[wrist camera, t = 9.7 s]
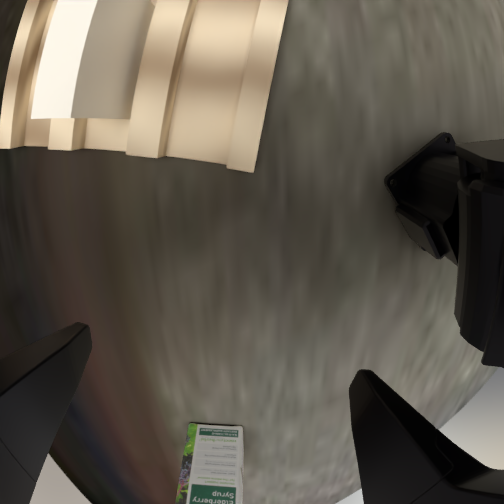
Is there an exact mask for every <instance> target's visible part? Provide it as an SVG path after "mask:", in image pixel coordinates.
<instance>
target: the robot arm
mask: <svg viewBox="0 0 504 504" xmlns="http://www.w3.org/2000/svg"><path fill="white" fill-rule="evenodd" d="M445 137H447V142H445ZM392 179H394V184H393V185H392V186H391V185H390V181H391V180H392ZM385 186H386V187H387V189H388V191H389V192H390V194H391V196H392V197H393V199H394V201H395V203H396V204H397V206H396V210H395V211H396V213H397V215H398V217H399V218H400V220H401V222H402V224H403V226H404V227H405V229H406V231H407V233H408V235H409V236H410V238H411V239H413V240H414V241H415V242H416V243H418V245H419V247H420V248H421V249H422V250H424V251H428V252H429V253H430V254H431V255H432V256H434V257H435V258H436V259H442V258H443V257H444V256H446V257H447V258H448V259H449V260H451V261H452V262H453V263H454V264H456V265H457V266H458V274H457V287H456V298H455V310H454V315H455V317H456V320H457V322H458V325H459V327H460V334H461V336H462V337H463V338H464V339H465V340H466V341H467V342H468V343H469V344H471V345H473V346H474V347H476V348H477V349H479V350H480V351H482V352H484V354H483V357H482V360H481V363H482V364H483V365H488V366H497V367H502V368H504V139H500V140H489V141H480V142H471V143H462V144H456V143H455V141H454V139H453V137H452V136H451V134H449V133H445V132H443V133H441V134H440V135H439V136H437V137H436V138H435V139H434V140H432V141H431V142H430V143H429V144H427V145H426V146H425V147H423V148H422V149H421V150H420V151H418V152H417V153H416V154H415V155H413V156H412V157H411V158H410V159H408V160H407V161H406V162H404V163H403V164H402V165H401V166H399V167H398V168H397V169H395V170H394V171H393V172H392V173H390V174H389V175H388V176H387V177H386V178H385ZM91 350H92V340H91V333H90V328H89V326H88V325H87V324H83V323H80V322H77V323H74V324H72V325H70V326H68V327H66V328H64V329H62V330H60V331H58V332H56V333H53V334H51V335H49V336H47V337H45V338H43V339H41V340H39V341H37V342H35V343H33V344H31V345H28V346H26V347H24V348H22V349H20V350H18V351H16V352H14V353H12V354H10V355H8V356H6V357H4V358H2V359H0V504H29V503H30V500H31V497H32V494H33V491H34V489H35V486H36V482H37V480H38V477H39V475H40V472H41V469H42V467H43V464H44V462H45V459H46V457H47V454H48V452H49V449H50V447H51V445H52V442H53V440H54V438H55V435H56V433H57V431H58V428H59V426H60V424H61V422H62V420H63V417H64V415H65V413H66V411H67V409H68V406H69V404H70V402H71V400H72V398H73V396H74V394H75V392H76V390H77V387H78V385H79V382H80V380H81V377H82V374H83V371H84V369H85V366H86V363H87V361H88V358H89V355H90V353H91ZM349 399H350V412H351V425H352V433H353V439H354V444H355V450H356V456H357V462H358V468H359V474H360V480H361V487H362V494H363V500H364V504H504V470H497V469H492V468H489V467H487V466H485V465H483V464H482V463H481V462H479V461H478V460H476V459H475V458H474V457H472V456H471V455H469V454H468V453H467V452H465V451H464V450H462V449H461V448H459V447H458V446H457V445H456V444H454V443H453V442H452V441H451V440H449V439H448V438H447V437H446V436H445V435H444V434H442V433H441V432H440V431H439V430H438V429H436V428H435V427H434V426H433V425H432V424H431V423H430V422H429V421H428V420H426V419H425V418H424V417H423V416H422V415H421V414H420V413H419V412H417V411H416V410H415V409H414V408H413V407H412V406H411V405H410V404H408V403H407V402H406V401H405V400H404V399H403V398H402V397H401V396H399V395H398V394H397V393H396V392H395V391H394V390H393V389H392V388H390V387H389V386H388V385H387V384H386V383H385V382H384V381H383V380H382V379H380V378H379V377H378V376H377V375H376V374H375V373H374V372H373V371H371V370H366V369H361V370H359V371H358V372H357V374H356V376H355V377H354V379H353V381H352V383H351V385H350V387H349Z"/></svg>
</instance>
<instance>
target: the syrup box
mask: <svg viewBox="0 0 504 504" xmlns="http://www.w3.org/2000/svg"><path fill="white" fill-rule="evenodd" d="M243 455H244V448H243V428H242V426H217V425H202V424H194V423H190V424H189V426H188V432H187V437H186V443H185V449H184V455H183V461H182V467H181V472H180V478H179V484H178V490H177V496H176V503H175V504H242V496H243Z"/></svg>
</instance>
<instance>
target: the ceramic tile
mask: <svg viewBox="0 0 504 504" xmlns="http://www.w3.org/2000/svg"><path fill="white" fill-rule="evenodd" d="M154 9H155V6H154V4H153V3H152V2H151V1H150V0H58V2H57V5H56V8H55V11H54V14H53V17H52V20H51V23H50V26H49V30H48V33H47V37H46V41H45V44H44V48H43V52H42V57H41V61H40V66H39V70H38V75H37V81H36V86H35V92H34V98H33V105H32V113H31V119H46V118H103V119H128V120H130V118H131V112H132V106H133V100H134V94H135V89H136V83H137V78H138V73H139V69H140V64H141V59H142V55H143V51H144V47H145V43H146V39H147V35H148V31H149V27H150V23H151V20H152V16H153V13H154Z"/></svg>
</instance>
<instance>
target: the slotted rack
mask: <svg viewBox="0 0 504 504" xmlns="http://www.w3.org/2000/svg"><path fill="white" fill-rule="evenodd" d="M150 1H151V2H152V3H153V4H154V6H155V9H154V13H153V16H152V20H151V23H150V27H149V31H148V35H147V39H146V43H145V47H144V51H143V55H142V59H141V64H140V69H139V73H138V78H137V83H136V89H135V94H134V100H133V106H132V112H131V118H130V120H128V119H103V118H46V119H31V113H32V105H33V98H34V92H35V86H36V81H37V75H38V70H39V66H40V61H41V57H42V52H43V48H44V44H45V41H46V37H47V33H48V30H49V26H50V23H51V20H52V17H53V14H54V11H55V8H56V5H57V2H58V0H54V1H53V0H28V1H27V4H26V7H25V10H24V13H23V16H22V19H21V22H20V25H19V28H18V32H17V35H16V39H15V42H14V46H13V50H12V54H11V59H10V63H9V68H8V73H7V78H6V84H5V89H4V96H3V103H2V111H1V120H0V148H15V147H21V146H48V149H52V150H76V149H82V148H90V149H103V150H115V151H126V155H133V156H142V157H151V158H160V157H163V156H171V157H179V158H186V159H193V160H200V161H207V162H213V163H220V164H226V165H227V168H228V169H234V170H240V171H246V172H251V173H254V168H255V163H256V157H257V152H258V147H259V142H260V137H261V132H262V127H263V122H264V117H265V112H266V107H267V102H268V97H269V92H270V87H271V82H272V77H273V72H274V67H275V62H276V57H277V52H278V47H279V43H280V38H281V33H282V28H283V24H284V19H285V14H286V9H287V5H288V0H150Z"/></svg>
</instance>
